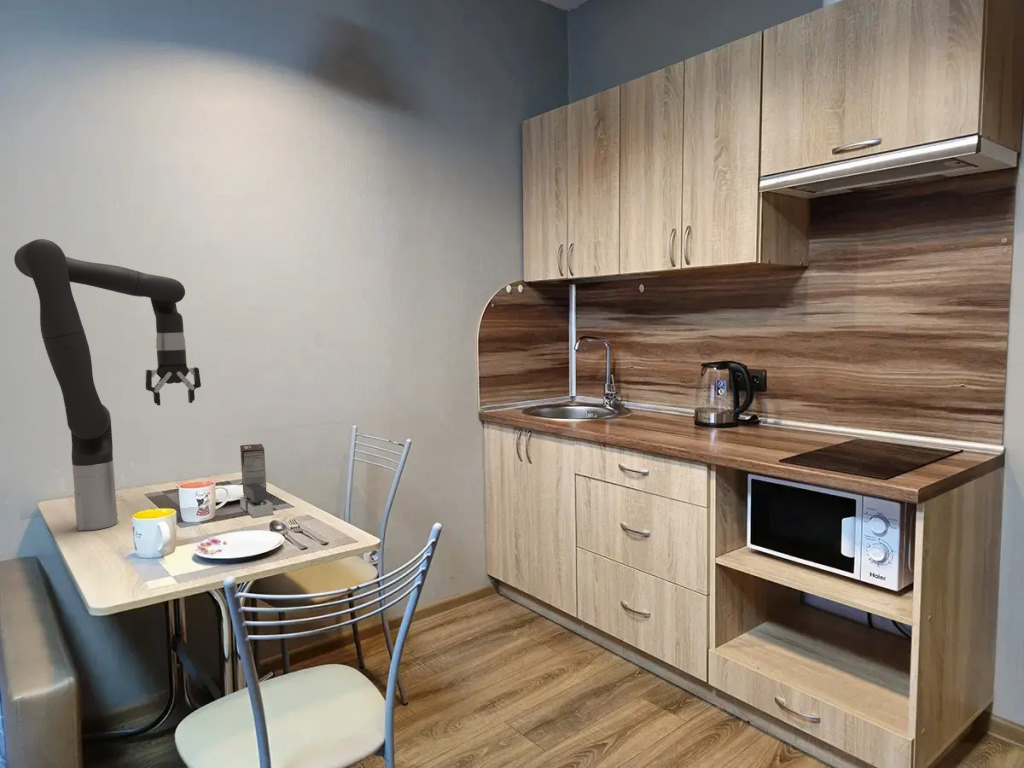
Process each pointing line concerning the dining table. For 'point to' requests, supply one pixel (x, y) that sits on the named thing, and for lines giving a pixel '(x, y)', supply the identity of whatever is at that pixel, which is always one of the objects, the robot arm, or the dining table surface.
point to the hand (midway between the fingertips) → (174, 403)
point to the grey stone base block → (256, 507)
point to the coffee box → (253, 465)
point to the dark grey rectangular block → (255, 492)
